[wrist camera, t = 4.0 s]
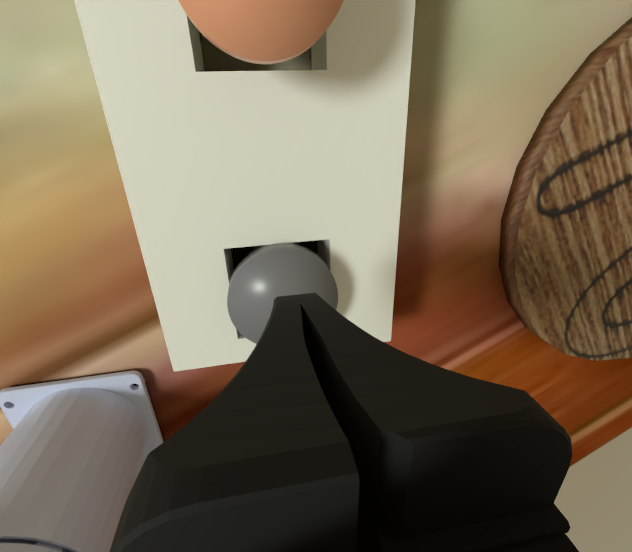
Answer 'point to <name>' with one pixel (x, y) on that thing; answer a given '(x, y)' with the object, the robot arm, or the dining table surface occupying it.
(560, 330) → the trivet
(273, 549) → the robot arm
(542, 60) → the dining table surface
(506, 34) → the dining table surface
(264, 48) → the button
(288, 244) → the button
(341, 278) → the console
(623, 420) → the dining table surface
